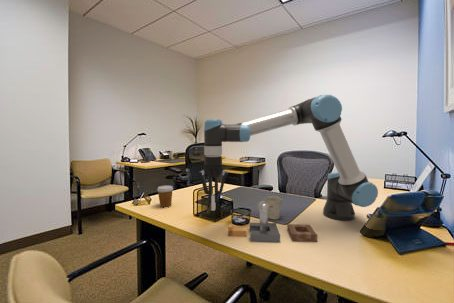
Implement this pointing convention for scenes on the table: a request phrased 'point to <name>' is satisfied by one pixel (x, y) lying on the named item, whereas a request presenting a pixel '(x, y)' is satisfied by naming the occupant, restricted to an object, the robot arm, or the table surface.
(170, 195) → the disposable coffee cup
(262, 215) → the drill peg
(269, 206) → the mug
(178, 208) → the table surface
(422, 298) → the table surface
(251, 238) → the socket block
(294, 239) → the block
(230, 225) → the wooden block
